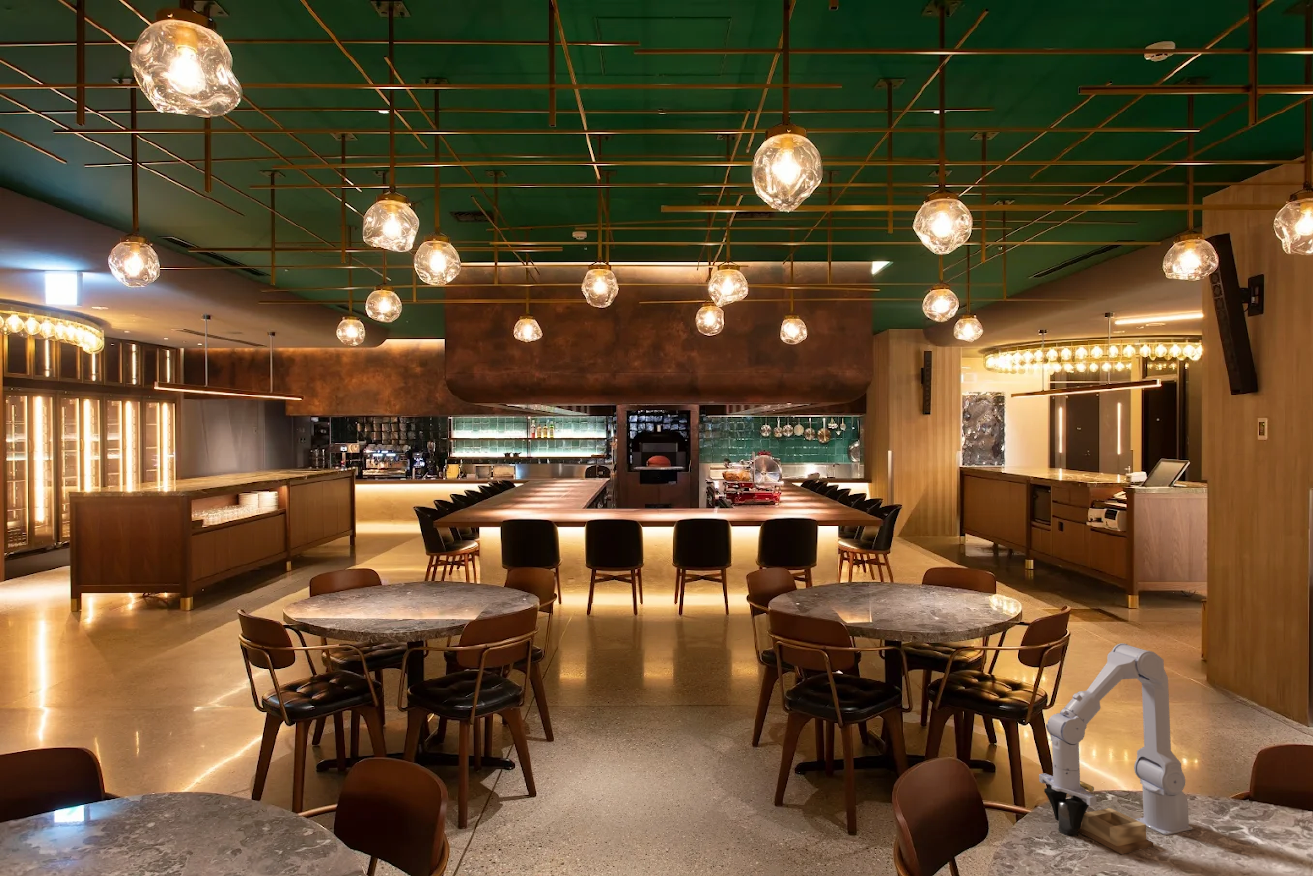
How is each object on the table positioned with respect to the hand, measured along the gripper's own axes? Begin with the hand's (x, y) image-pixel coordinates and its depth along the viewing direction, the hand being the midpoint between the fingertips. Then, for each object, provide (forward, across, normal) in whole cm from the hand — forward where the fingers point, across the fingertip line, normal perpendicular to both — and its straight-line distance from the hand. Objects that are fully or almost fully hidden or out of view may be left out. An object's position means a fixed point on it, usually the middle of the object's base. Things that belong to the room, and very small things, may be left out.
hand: (1067, 824), depth 178 cm
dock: (+2, +4, +7) cm, 8 cm away
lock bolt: (-7, -4, +7) cm, 11 cm away
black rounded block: (+2, 0, 0) cm, 2 cm away
